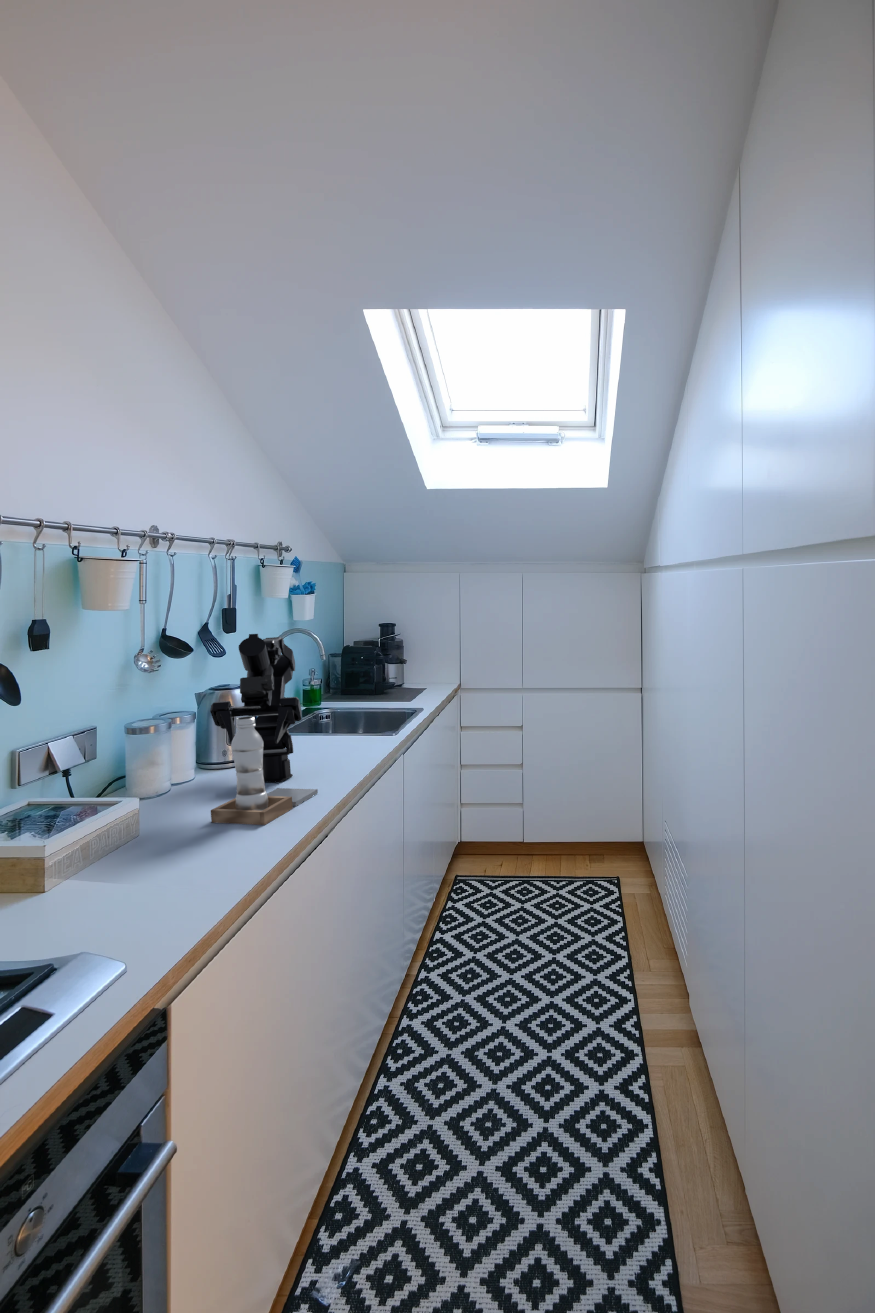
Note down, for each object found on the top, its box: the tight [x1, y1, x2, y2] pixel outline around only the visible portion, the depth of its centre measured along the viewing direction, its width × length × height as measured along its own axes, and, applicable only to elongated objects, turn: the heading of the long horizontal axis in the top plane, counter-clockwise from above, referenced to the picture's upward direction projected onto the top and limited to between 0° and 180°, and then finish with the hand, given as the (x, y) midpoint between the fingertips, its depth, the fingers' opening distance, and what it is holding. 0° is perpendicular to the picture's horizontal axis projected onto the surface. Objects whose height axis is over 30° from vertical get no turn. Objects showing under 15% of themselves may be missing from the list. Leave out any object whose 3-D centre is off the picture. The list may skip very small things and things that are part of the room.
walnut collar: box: [210, 796, 294, 826], centre depth 153 cm, size 12×11×2 cm
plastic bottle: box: [230, 716, 268, 811], centre depth 152 cm, size 6×7×20 cm
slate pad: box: [267, 787, 319, 807], centre depth 164 cm, size 10×10×1 cm
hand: (254, 743), depth 158 cm, fingers open, 9 cm apart
